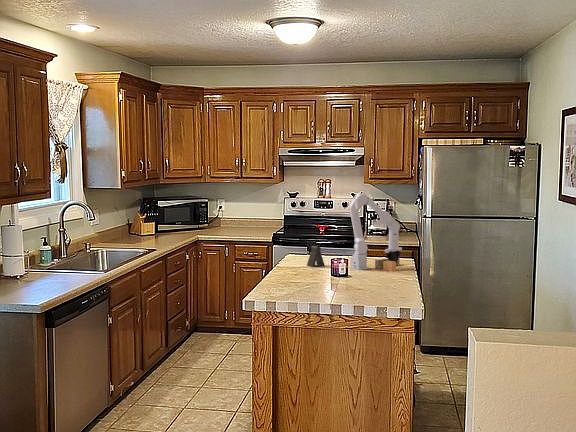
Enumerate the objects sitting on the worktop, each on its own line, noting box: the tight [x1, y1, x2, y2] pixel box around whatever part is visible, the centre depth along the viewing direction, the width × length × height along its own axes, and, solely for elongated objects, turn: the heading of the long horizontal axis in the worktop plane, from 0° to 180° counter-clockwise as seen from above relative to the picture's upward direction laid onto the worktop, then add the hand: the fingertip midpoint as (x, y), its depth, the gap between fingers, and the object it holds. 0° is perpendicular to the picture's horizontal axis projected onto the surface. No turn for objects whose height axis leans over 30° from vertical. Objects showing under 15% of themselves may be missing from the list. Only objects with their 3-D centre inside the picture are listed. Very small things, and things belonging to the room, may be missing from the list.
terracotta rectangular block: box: [383, 261, 397, 272], centre depth 359 cm, size 4×6×5 cm, turn 45°
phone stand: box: [306, 245, 326, 268], centre depth 372 cm, size 9×6×12 cm, turn 120°
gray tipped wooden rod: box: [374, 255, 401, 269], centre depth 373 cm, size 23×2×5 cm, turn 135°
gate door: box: [378, 257, 389, 268], centre depth 371 cm, size 14×1×4 cm, turn 135°
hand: (393, 264), depth 366 cm, fingers open, 4 cm apart
